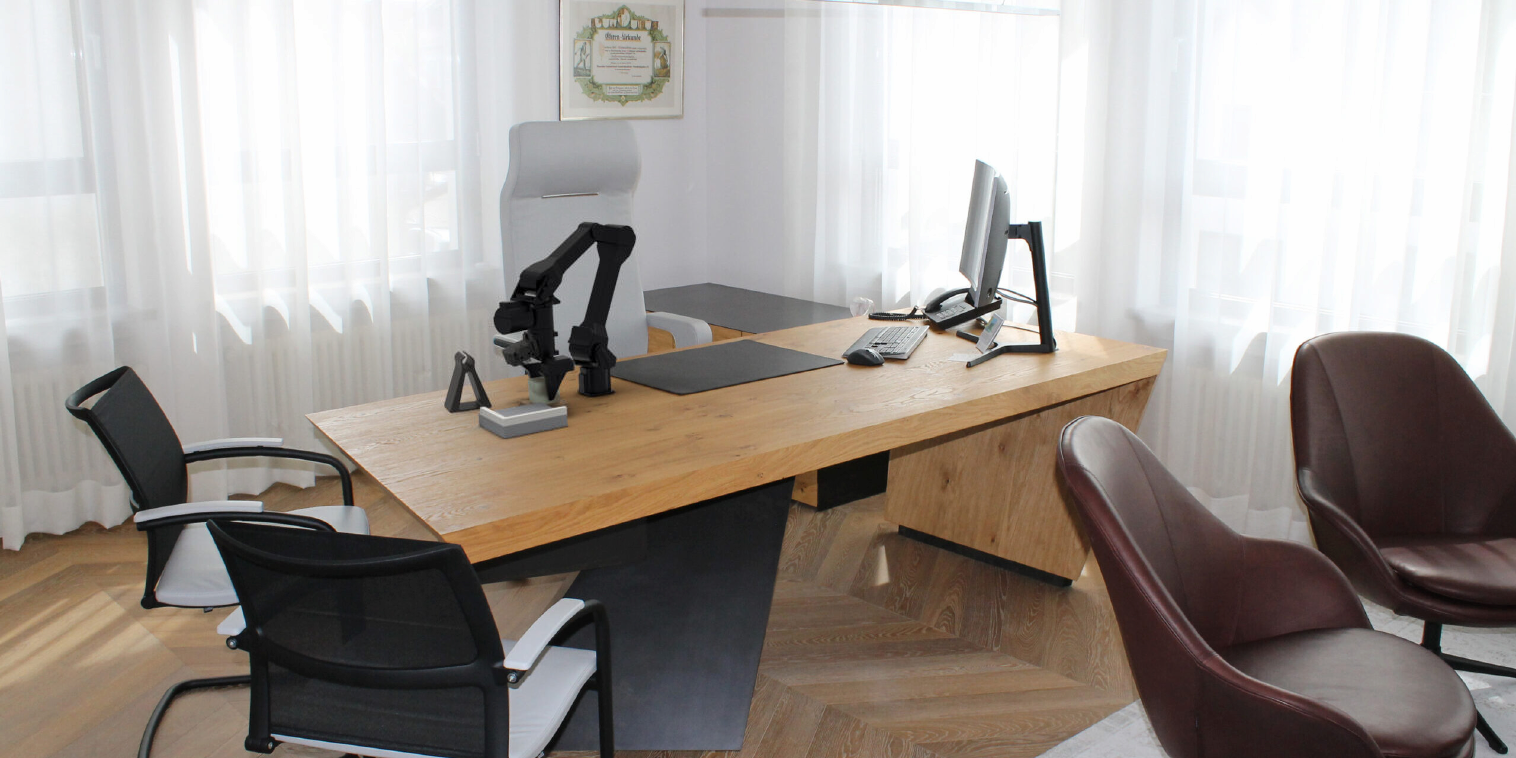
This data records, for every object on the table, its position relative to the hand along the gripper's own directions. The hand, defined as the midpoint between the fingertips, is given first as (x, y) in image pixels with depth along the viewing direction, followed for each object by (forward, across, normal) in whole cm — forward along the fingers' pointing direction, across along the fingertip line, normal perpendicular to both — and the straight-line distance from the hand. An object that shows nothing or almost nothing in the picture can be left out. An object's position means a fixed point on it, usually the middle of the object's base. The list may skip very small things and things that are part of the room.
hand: (544, 397), depth 238 cm
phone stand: (+2, -11, -13) cm, 17 cm away
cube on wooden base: (+2, 0, 0) cm, 2 cm away
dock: (+2, +10, -10) cm, 14 cm away
